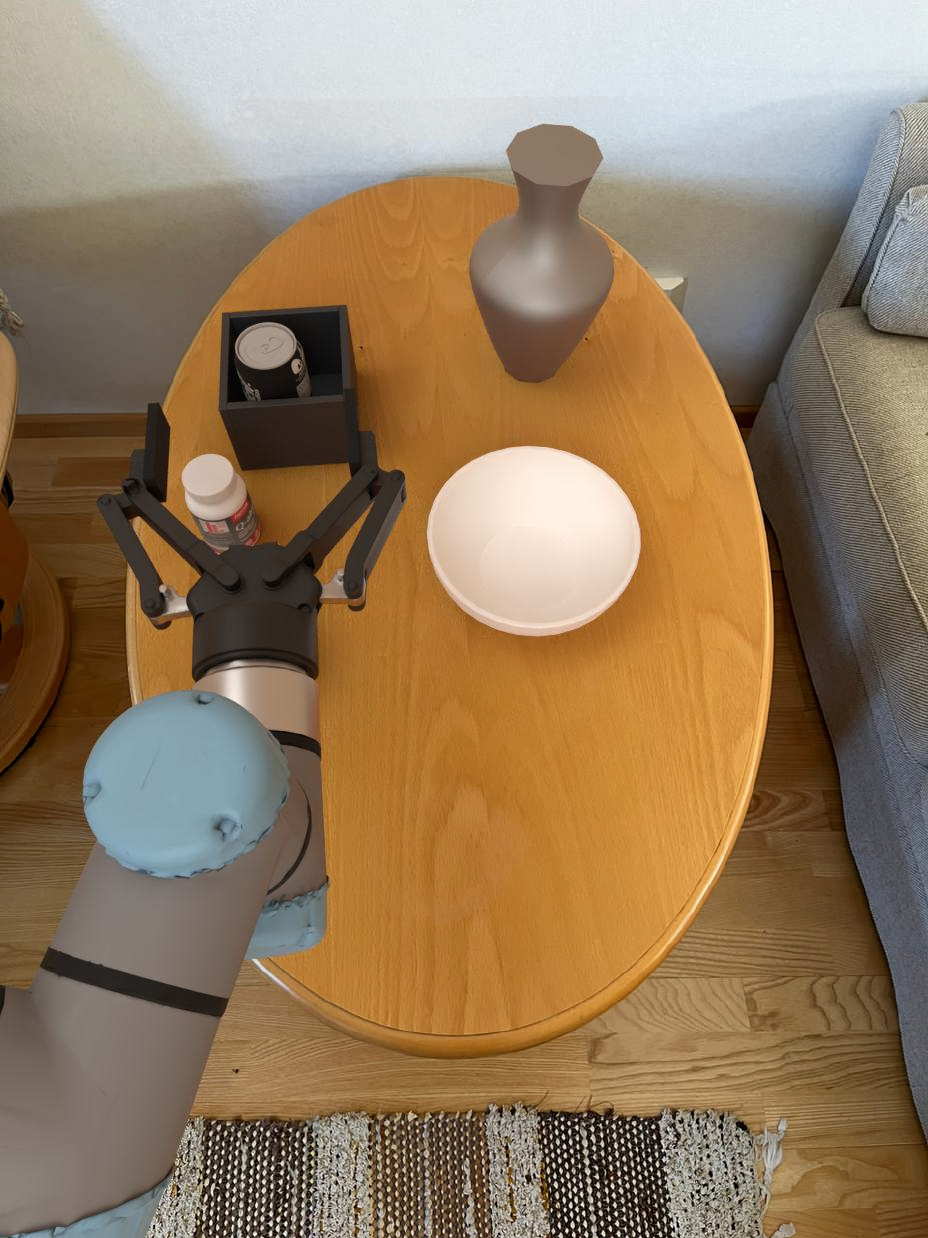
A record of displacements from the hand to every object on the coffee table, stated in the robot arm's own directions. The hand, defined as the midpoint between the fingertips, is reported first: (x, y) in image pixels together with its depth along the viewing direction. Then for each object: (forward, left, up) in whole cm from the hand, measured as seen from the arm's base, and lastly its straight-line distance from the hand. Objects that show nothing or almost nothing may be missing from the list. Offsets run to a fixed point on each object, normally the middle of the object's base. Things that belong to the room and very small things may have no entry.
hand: (256, 407), depth 60 cm
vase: (+25, +26, -25) cm, 44 cm away
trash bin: (-1, +20, -25) cm, 32 cm away
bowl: (+21, -1, -25) cm, 33 cm away
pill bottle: (-8, +6, -25) cm, 27 cm away
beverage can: (-2, +18, -25) cm, 31 cm away
